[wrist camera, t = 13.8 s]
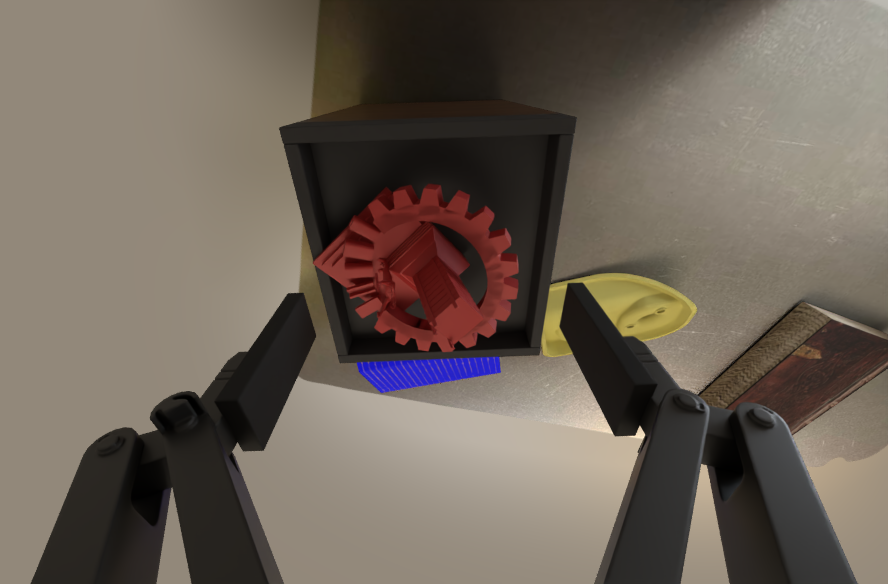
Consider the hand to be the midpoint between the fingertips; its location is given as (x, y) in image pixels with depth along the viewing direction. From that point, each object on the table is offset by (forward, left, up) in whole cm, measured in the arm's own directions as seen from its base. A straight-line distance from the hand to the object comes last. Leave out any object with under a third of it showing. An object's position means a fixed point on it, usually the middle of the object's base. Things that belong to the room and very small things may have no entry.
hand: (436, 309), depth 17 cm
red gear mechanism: (0, -2, -7) cm, 7 cm away
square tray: (0, 0, -8) cm, 8 cm away
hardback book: (+37, +59, -28) cm, 75 cm away
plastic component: (+20, +24, -28) cm, 42 cm away
